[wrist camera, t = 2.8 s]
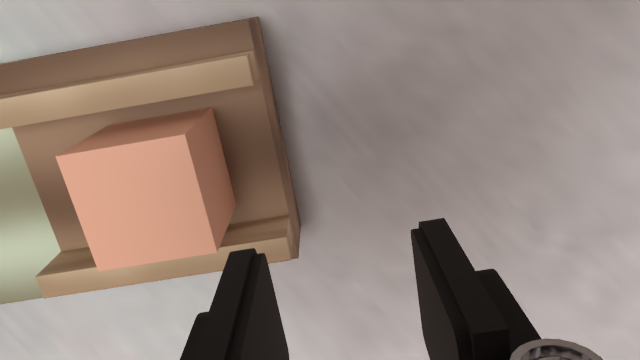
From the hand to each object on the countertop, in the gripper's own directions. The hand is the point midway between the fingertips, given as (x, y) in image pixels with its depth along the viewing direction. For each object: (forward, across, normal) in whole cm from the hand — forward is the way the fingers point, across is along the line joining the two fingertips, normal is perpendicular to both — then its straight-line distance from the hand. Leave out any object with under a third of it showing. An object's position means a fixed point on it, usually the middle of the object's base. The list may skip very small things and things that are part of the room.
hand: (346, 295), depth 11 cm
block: (+13, +8, 0) cm, 15 cm away
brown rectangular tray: (+17, +15, 0) cm, 23 cm away
